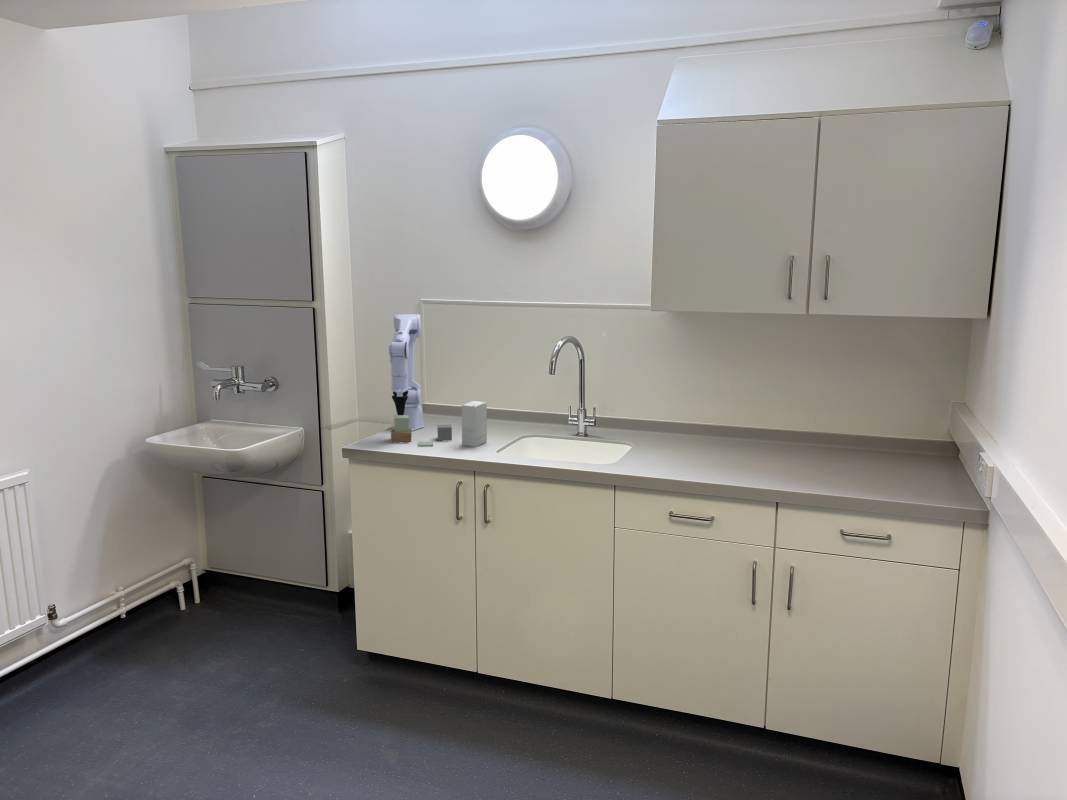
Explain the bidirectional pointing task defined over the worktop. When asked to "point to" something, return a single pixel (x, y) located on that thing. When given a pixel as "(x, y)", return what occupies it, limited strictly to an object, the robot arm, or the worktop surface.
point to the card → (426, 443)
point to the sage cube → (401, 423)
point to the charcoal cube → (444, 432)
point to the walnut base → (401, 436)
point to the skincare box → (474, 423)
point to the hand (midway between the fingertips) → (400, 412)
